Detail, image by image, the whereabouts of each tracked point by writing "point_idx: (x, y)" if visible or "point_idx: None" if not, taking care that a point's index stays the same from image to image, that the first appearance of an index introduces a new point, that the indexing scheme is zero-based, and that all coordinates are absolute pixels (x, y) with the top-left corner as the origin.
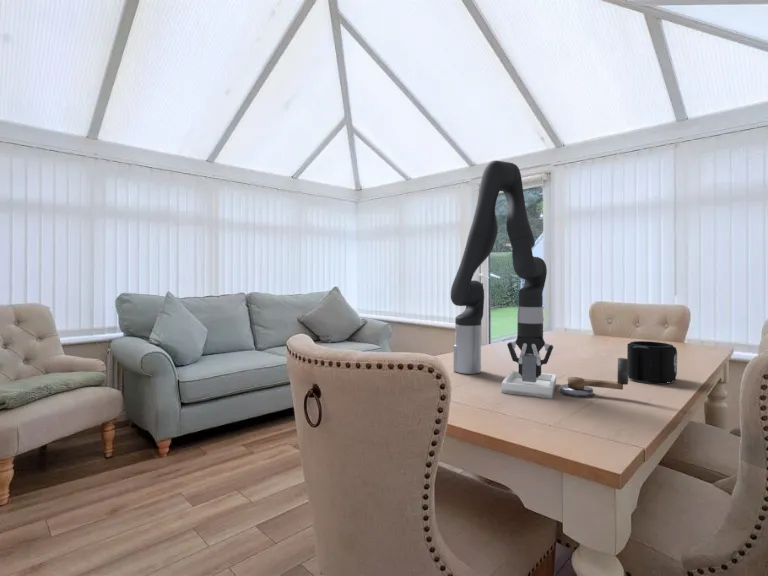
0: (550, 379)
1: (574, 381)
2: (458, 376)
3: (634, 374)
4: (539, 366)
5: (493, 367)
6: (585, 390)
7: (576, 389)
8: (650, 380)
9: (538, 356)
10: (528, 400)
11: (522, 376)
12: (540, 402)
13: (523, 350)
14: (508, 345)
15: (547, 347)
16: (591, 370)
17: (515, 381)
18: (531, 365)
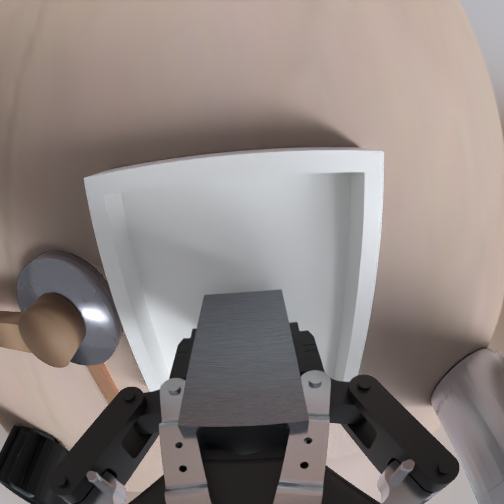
0: None
1: (36, 311)
2: (497, 313)
3: (46, 447)
4: (177, 380)
5: None
6: (30, 298)
7: None
8: (29, 432)
9: (161, 428)
10: (202, 72)
11: (282, 304)
12: (144, 74)
13: (305, 470)
14: (447, 461)
15: (95, 495)
16: None
17: (320, 333)
18: (223, 362)
